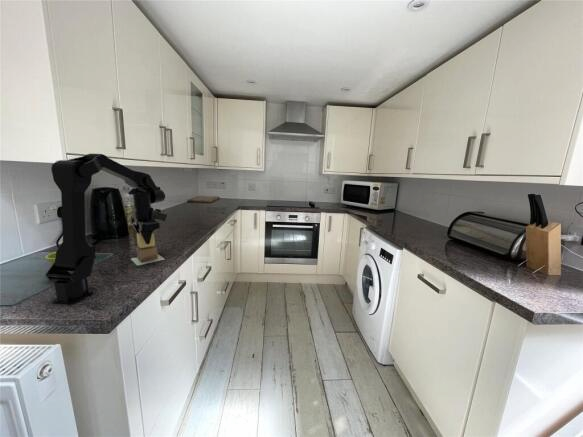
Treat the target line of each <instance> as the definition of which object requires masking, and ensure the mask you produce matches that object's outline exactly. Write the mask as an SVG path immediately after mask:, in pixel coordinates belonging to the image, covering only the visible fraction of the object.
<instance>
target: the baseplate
mask: <svg viewBox="0 0 583 437" xmlns="http://www.w3.org/2000/svg"><path fill="white" fill-rule="evenodd" d="M130 260H131V261H132V262H133V263H134V264H135V265H136V266H142V265H146V264H150V263H155V262H159V261H163V260H164V261H165V258H164V257H163V256H162V255H160V254H158V259H156V260H152V261H147V262H143V263H141V262H140V261H139V260H138V259H137V256H136V257H132V258H130Z"/></svg>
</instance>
